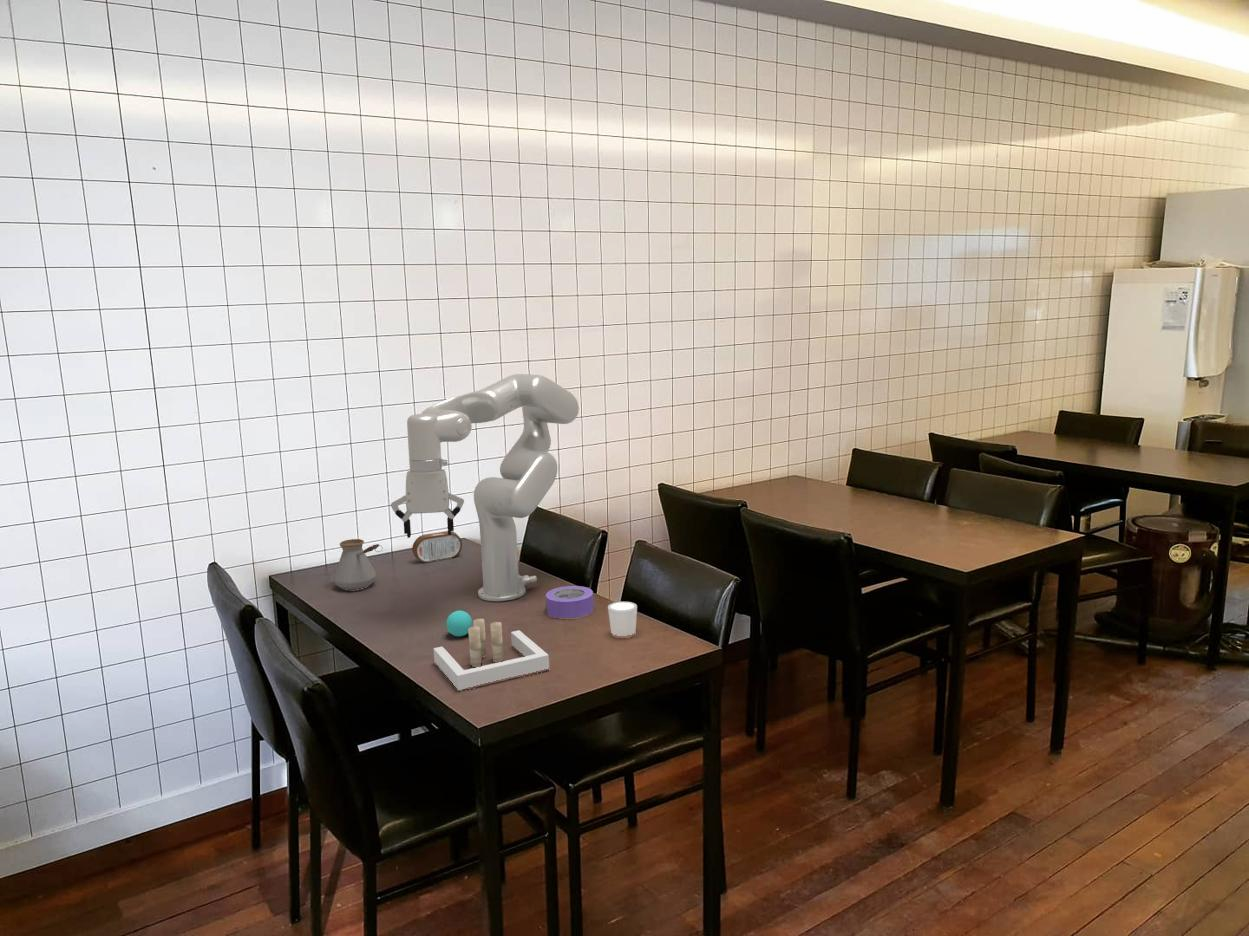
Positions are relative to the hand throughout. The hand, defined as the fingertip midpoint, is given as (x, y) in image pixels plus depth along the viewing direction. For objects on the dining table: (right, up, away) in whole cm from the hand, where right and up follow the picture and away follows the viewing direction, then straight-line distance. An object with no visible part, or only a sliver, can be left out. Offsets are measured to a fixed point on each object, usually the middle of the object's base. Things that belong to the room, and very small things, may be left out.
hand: (429, 535), depth 225 cm
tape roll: (+34, -20, +8) cm, 40 cm away
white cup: (+47, -23, -9) cm, 53 cm away
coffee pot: (-24, -17, +30) cm, 42 cm away
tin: (-9, -12, +56) cm, 58 cm away
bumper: (+18, -27, -24) cm, 40 cm away
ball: (+8, -20, -7) cm, 23 cm away
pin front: (+15, -26, -19) cm, 36 cm away
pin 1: (+15, -27, -24) cm, 39 cm away
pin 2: (+20, -26, -21) cm, 39 cm away
